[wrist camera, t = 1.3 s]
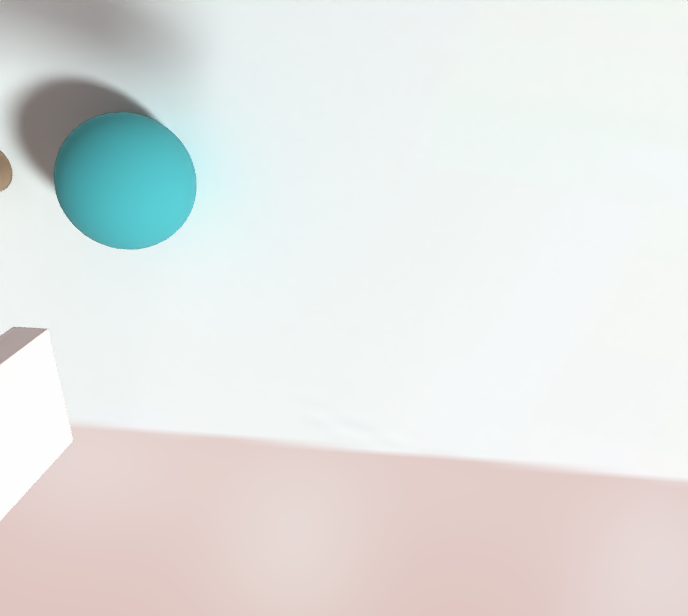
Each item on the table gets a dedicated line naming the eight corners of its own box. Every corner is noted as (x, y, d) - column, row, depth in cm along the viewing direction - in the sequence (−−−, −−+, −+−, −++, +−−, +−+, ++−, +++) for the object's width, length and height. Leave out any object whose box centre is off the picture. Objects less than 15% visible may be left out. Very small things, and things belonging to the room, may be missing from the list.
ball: (88, 106, 30) (8, 120, 24) (207, 105, 29) (152, 120, 23) (109, 227, 32) (40, 265, 27) (220, 230, 31) (173, 269, 26)
